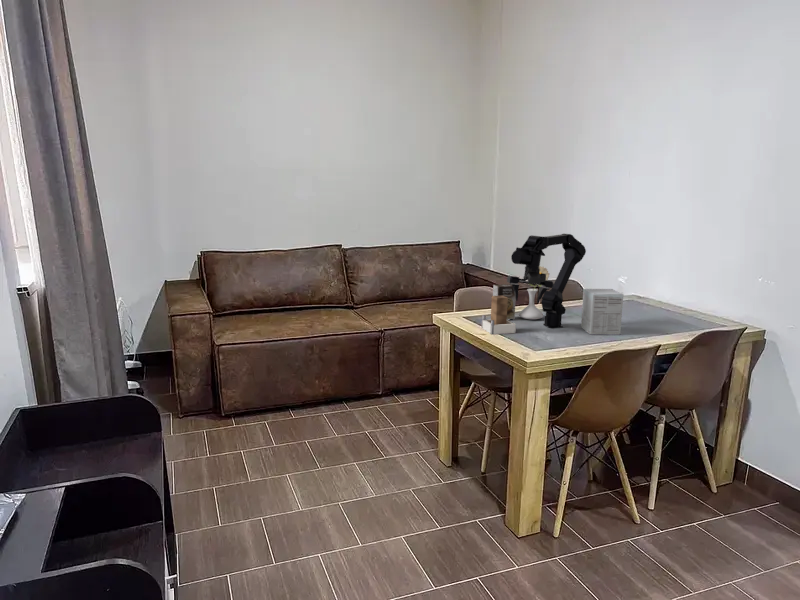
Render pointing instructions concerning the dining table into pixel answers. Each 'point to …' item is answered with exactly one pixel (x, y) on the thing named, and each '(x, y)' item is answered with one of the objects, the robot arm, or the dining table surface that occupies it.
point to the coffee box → (509, 293)
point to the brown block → (499, 309)
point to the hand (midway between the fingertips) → (527, 301)
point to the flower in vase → (531, 309)
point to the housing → (497, 326)
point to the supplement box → (602, 311)
